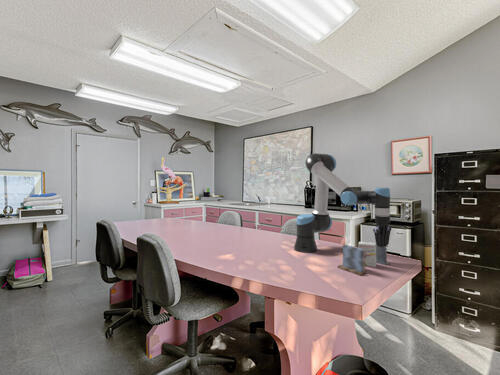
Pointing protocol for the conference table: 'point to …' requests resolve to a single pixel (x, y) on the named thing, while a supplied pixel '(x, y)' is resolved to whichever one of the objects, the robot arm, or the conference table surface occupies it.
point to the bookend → (381, 255)
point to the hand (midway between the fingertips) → (382, 258)
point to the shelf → (353, 260)
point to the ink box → (369, 253)
